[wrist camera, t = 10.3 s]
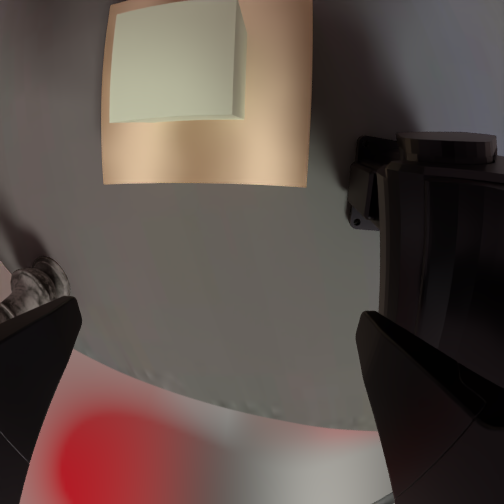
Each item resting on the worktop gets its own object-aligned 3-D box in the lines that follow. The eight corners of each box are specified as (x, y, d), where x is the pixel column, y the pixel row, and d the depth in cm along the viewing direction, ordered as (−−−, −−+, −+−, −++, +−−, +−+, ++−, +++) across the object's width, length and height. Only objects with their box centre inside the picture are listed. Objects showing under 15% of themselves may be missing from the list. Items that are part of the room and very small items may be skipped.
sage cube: (247, 33, 12) (236, -4, 8) (244, 119, 14) (232, 114, 10) (157, 41, 13) (116, 14, 8) (154, 122, 15) (109, 122, 10)
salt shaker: (48, 243, 23) (-40, 311, 12) (82, 294, 24) (9, 378, 13) (23, 267, 24) (-50, 329, 13) (53, 312, 26) (-10, 384, 15)
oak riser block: (305, 12, 14) (312, -12, 11) (299, 176, 19) (306, 187, 16) (135, 21, 15) (110, 5, 11) (131, 173, 20) (103, 184, 16)
